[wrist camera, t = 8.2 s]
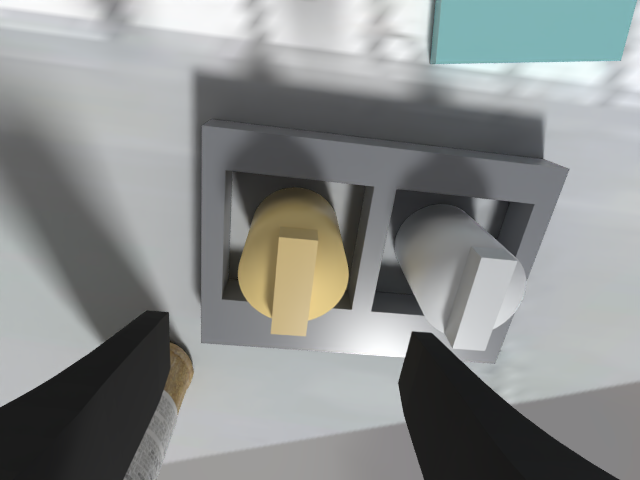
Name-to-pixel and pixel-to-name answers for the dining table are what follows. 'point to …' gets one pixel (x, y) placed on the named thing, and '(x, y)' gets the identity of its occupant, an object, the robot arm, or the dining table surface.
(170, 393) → the spice jar
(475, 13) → the lid plate
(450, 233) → the grey knob with ridge
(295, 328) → the beige cylinder with tab
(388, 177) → the housing
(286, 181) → the dining table surface
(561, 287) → the dining table surface
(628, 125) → the dining table surface
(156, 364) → the robot arm
